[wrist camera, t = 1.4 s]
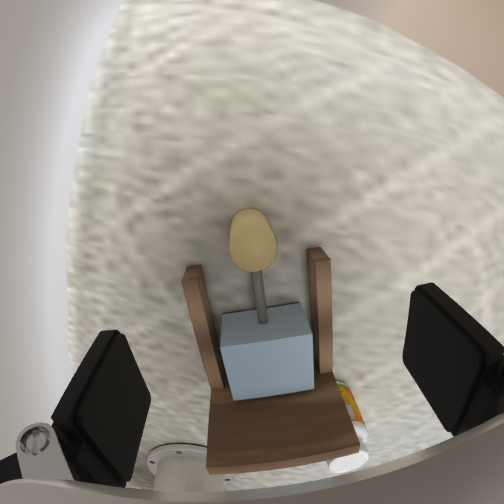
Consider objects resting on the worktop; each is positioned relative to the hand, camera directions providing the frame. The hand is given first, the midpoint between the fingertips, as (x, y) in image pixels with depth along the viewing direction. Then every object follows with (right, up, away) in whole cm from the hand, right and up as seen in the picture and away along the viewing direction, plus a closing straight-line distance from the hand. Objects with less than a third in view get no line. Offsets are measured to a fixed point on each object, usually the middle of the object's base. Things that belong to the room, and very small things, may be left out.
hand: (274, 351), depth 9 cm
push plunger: (0, -1, +18) cm, 18 cm away
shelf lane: (0, -3, +19) cm, 19 cm away
